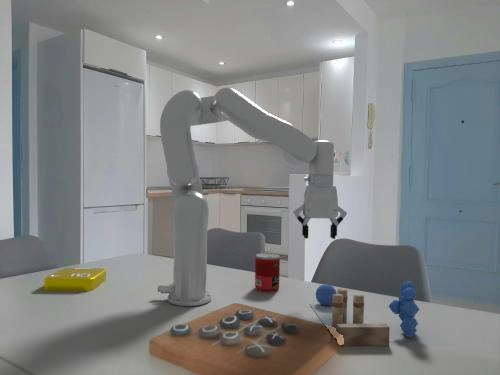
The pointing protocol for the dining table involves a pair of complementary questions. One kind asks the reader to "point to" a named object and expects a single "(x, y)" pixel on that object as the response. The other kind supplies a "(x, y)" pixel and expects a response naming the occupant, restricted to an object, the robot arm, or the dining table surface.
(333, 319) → the pin left
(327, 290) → the ball
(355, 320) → the pin right
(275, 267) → the canned food
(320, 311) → the lane mark
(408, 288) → the grapes
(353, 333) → the back wall
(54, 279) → the element tile
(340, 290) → the pin front
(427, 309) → the dining table surface
